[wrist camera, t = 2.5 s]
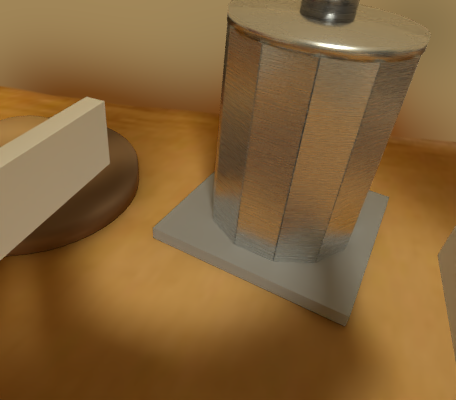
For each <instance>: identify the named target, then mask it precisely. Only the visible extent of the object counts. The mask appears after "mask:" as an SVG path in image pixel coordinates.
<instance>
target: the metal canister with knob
mask: <svg viewBox="0 0 456 400" xmlns="http://www.w3.org/2000/svg"><path fill="white" fill-rule="evenodd" d="M359 1H360V0H232V1H231V2H230V3H229V4H228V14H227V22H228V23H227V35H226V46H225V58H224V69H223V81H222V93H221V105H220V117H219V128H218V140H217V152H216V164H215V176H214V187H213V221H214V222H215V223H216V224H217V225H218V227H219V228H220V229H221V230H222V231H223V232H224V234H225V235H226V236H227V237H228V238H229V239H230V241H231V242H232V243H233V244H235V245H236V246H238V247H240V248H243V249H245V250H247V251H249V252H252V253H254V254H256V255H259V256H261V257H263V258H266V259H268V260H270V261H273V262H296V263H317V262H319V261H321V260H323V259H326V258H328V257H330V256H332V255H334V254H337V253H339V252H341V251H343V250H345V249H346V247H347V245H348V243H349V240H350V238H351V235H352V233H353V230H354V228H355V225H356V223H357V220H358V218H359V215H360V213H361V210H362V207H363V205H364V202H365V200H366V197H367V194H368V192H369V189H370V187H371V184H372V181H373V179H374V176H375V174H376V171H377V168H378V166H379V163H380V161H381V158H382V155H383V153H384V150H385V148H386V145H387V142H388V140H389V137H390V135H391V132H392V130H393V127H394V124H395V122H396V119H397V117H398V114H399V111H400V109H401V106H402V103H403V101H404V98H405V96H406V93H407V91H408V88H409V85H410V83H411V80H412V78H413V75H414V72H415V70H416V67H417V64H418V62H419V59H420V57H421V55H422V54H423V53H424V52H425V49H426V47H427V44H428V42H429V39H430V35H431V34H430V32H429V31H428V29H427V28H425V27H424V26H422V25H421V24H419V23H417V22H415V21H413V20H411V19H409V18H406V17H404V16H401V15H398V14H395V13H392V12H389V11H385V10H382V9H378V8H374V7H370V6H366V5H361V4H359Z"/></svg>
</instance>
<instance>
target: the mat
mask: <svg viewBox="0 0 456 400" xmlns="http://www.w3.org/2000/svg"><path fill="white" fill-rule="evenodd" d="M214 176H215V171H214V172H213V173H212V174H211V175H210V176H209V177H208V178H207V179H206V180H205V181H204V182H202V183H201V184H200V185H199V186H198V187H197V188H196V189H195V190H194V191H193V192H192V193H190V194H189V195H188V196H187V197H186V198H185V199H184V200H183V201H182V202H181V203H180V204H179V205H177V206H176V207H175V208H174V209H173V210H172V211H171V212H170V213H169V214H168V215H167V216H165V217H164V218H163V219H162V220H161V221H160V222H159V223H158V224H157V225H156V226H155V227H154V228H153V238H155V239H157V240H160V241H162V242H164V243H166V244H168V245H170V246H173V247H175V248H177V249H179V250H181V251H183V252H185V253H188V254H190V255H192V256H194V257H196V258H198V259H201V260H203V261H205V262H207V263H209V264H211V265H213V266H216V267H218V268H220V269H222V270H224V271H226V272H229V273H231V274H233V275H235V276H237V277H239V278H242V279H244V280H246V281H248V282H250V283H252V284H254V285H257V286H259V287H261V288H263V289H265V290H267V291H270V292H272V293H274V294H276V295H278V296H280V297H282V298H285V299H287V300H289V301H291V302H293V303H295V304H298V305H300V306H302V307H304V308H306V309H308V310H310V311H313V312H315V313H317V314H319V315H321V316H323V317H326V318H328V319H330V320H332V321H334V322H336V323H339V324H341V325H343V326H346V324H347V322H348V319H349V317H350V314H351V311H352V308H353V305H354V302H355V299H356V296H357V293H358V290H359V287H360V284H361V281H362V278H363V275H364V272H365V269H366V266H367V263H368V260H369V257H370V254H371V251H372V248H373V245H374V242H375V239H376V236H377V233H378V230H379V227H380V224H381V221H382V218H383V215H384V212H385V209H386V205H387V202H388V199H389V197H387V196H384V195H381V194H378V193H375V192H373V191H370V190H369V192H368V194H367V197H366V200H365V202H364V205H363V207H362V210H361V213H360V215H359V218H358V220H357V223H356V225H355V228H354V230H353V233H352V235H351V238H350V240H349V243H348V245H347V247H346V249H345V250H343V251H341V252H339V253H337V254H334V255H332V256H330V257H328V258H326V259H323V260H321V261H319V262H317V263H296V262H273V261H270V260H268V259H266V258H263V257H261V256H259V255H256V254H254V253H252V252H249V251H247V250H245V249H243V248H240V247H238V246H236V245H235V244H233V243H232V242H231V241H230V239H229V238H228V237H227V236H226V235H225V234H224V232H223V231H222V230H221V229H220V228H219V227H218V225H217V224H216V223H215V222H214V221H213V187H214Z"/></svg>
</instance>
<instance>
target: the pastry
mask: <svg viewBox="0 0 456 400" xmlns="http://www.w3.org/2000/svg"><path fill="white" fill-rule="evenodd" d="M48 119H49V118H45V117H40V116H17V117H11V118H7V119H3V120H0V147H2V146H3V145H5V144H7V143H9V142H10V141H12V140H14V139H15V138H17V137H19V136H20V135H22V134H24V133H26V132H27V131H29V130H31V129H32V128H34V127H36V126H38V125H39V124H41V123H43V122H44V121H46V120H48Z"/></svg>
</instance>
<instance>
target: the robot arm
mask: <svg viewBox="0 0 456 400" xmlns="http://www.w3.org/2000/svg"><path fill="white" fill-rule="evenodd" d="M109 164H110V158H109V147H108V136H107V124H106V113H105V102H104V101H101V100H97V99H94V98H89V97H85V98H83V99H82V100H80V101H78V102H77V103H75V104H73V105H72V106H70V107H68V108H66V109H65V110H63V111H61V112H60V113H58V114H56V115H55V116H53V117H51V118H49V119H48V120H46V121H44V122H43V123H41V124H39V125H38V126H36V127H34V128H32V129H31V130H29V131H27V132H26V133H24V134H22V135H20V136H19V137H17V138H15V139H14V140H12V141H10V142H9V143H7V144H5V145H3V146H2V147H0V260H1V259H2V258H3V257H5V256H6V255H7V254H8V253H9V252H10V251H11V250H13V249H14V248H15V247H16V246H17V245H18V244H19V243H20V242H22V241H23V240H24V239H25V238H26V237H27V236H28V235H29V234H31V233H32V232H33V231H34V230H35V229H36V228H37V227H39V226H40V225H41V224H42V223H43V222H44V221H45V220H46V219H48V218H49V217H50V216H51V215H52V214H53V213H54V212H56V211H57V210H58V209H59V208H60V207H61V206H62V205H63V204H65V203H66V202H67V201H68V200H69V199H70V198H71V197H72V196H74V195H75V194H76V193H77V192H78V191H79V190H80V189H82V188H83V187H84V186H85V185H86V184H87V183H88V182H89V181H91V180H92V179H93V178H94V177H95V176H96V175H97V174H98V173H100V172H101V171H102V170H103V169H104V168H105V167H106V166H108V165H109ZM438 261H439V267H440V272H441V278H442V284H443V290H444V296H445V302H446V308H447V313H448V319H449V325H450V331H451V337H452V343H453V349H454V355H455V360H456V226H455V228H454V229H453V231H452V232H451V234H450V236H449V237H448V239H447V241H446V242H445V244H444V246H443V247H442V249H441V250H440V252H439V254H438Z"/></svg>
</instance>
